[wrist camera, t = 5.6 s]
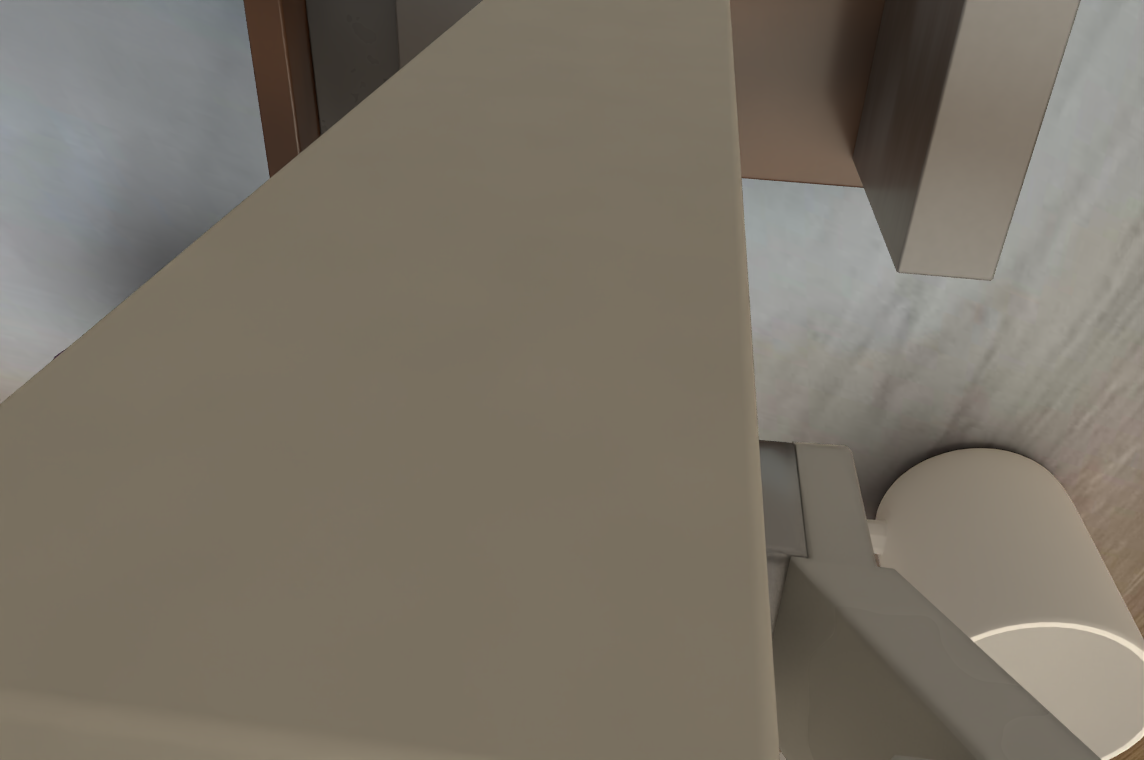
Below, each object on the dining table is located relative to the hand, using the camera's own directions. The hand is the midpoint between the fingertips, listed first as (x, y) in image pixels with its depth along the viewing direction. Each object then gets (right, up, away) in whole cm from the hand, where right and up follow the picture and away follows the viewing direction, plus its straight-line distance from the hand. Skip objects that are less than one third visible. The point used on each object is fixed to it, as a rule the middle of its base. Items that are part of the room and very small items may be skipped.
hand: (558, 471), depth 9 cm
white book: (+1, +4, +6) cm, 7 cm away
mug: (+16, -5, +32) cm, 36 cm away
